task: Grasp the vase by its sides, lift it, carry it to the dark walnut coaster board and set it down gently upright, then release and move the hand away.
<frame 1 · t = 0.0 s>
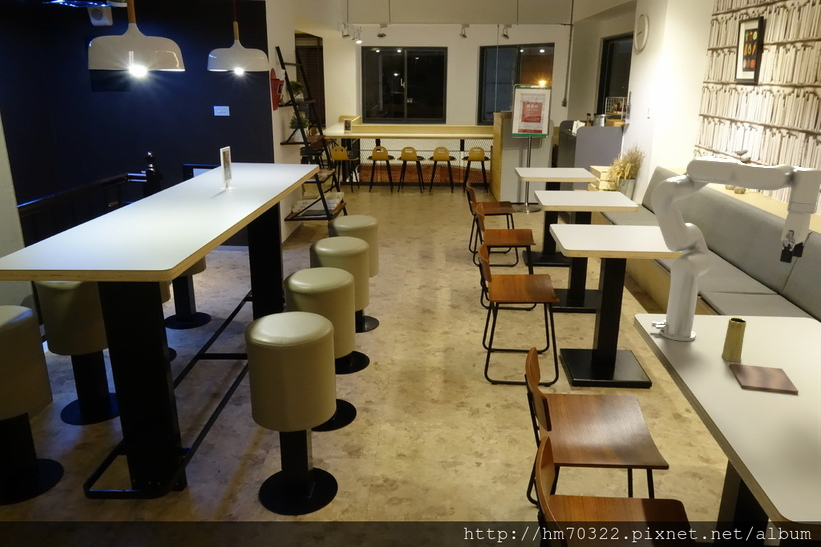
hand: (790, 259, 203), 37 cm above the table, tool pointing down, fingers open, 9 cm apart
coaster board: (762, 379, 203), on the table
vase: (730, 358, 219), on the table
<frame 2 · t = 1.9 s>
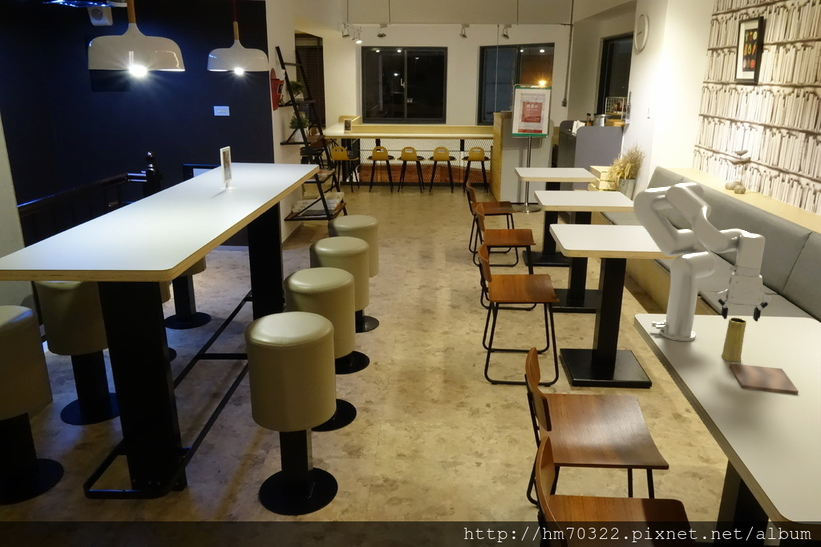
hand: (739, 318, 214), 15 cm above the table, tool pointing down, fingers open, 9 cm apart
nothing on the table moved.
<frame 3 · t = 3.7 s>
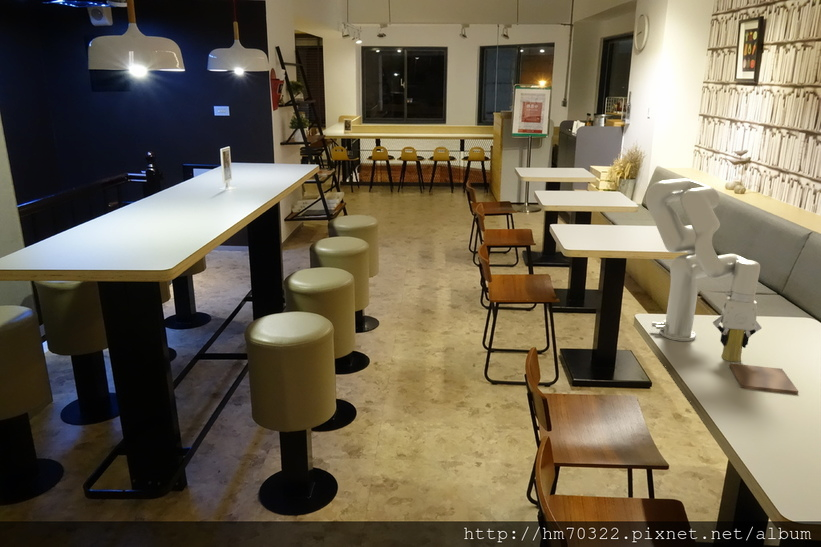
hand: (733, 344, 217), 5 cm above the table, tool pointing down, fingers closed on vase, 5 cm apart
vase: (730, 358, 219), on the table, touching gripper
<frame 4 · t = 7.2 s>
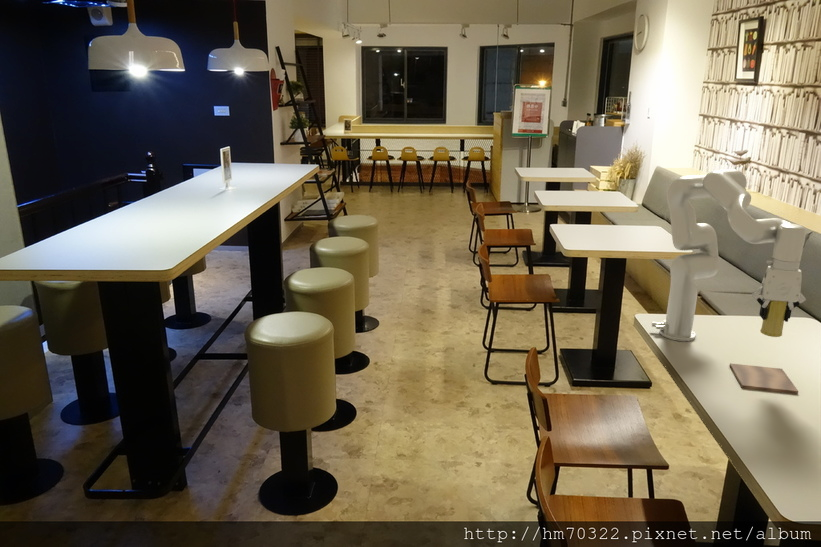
hand: (774, 318, 197), 21 cm above the table, tool pointing down, fingers closed on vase, 5 cm apart
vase: (770, 334, 199), point 16 cm above the table, touching gripper
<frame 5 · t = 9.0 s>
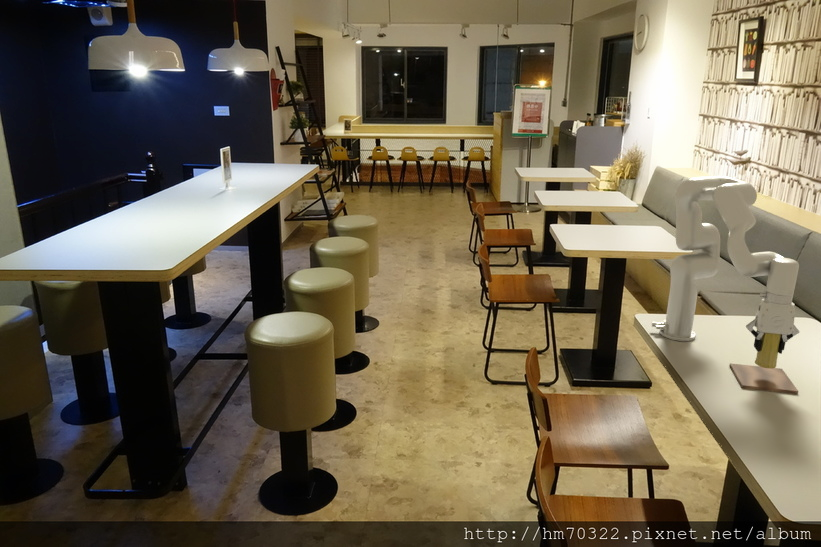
hand: (768, 350, 200), 10 cm above the table, tool pointing down, fingers closed on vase, 5 cm apart
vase: (765, 365, 202), point 5 cm above the table, touching gripper
when the fingers open (7 cm above the table, at t = 10.5 s): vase drops 1 cm, resting on coaster board.
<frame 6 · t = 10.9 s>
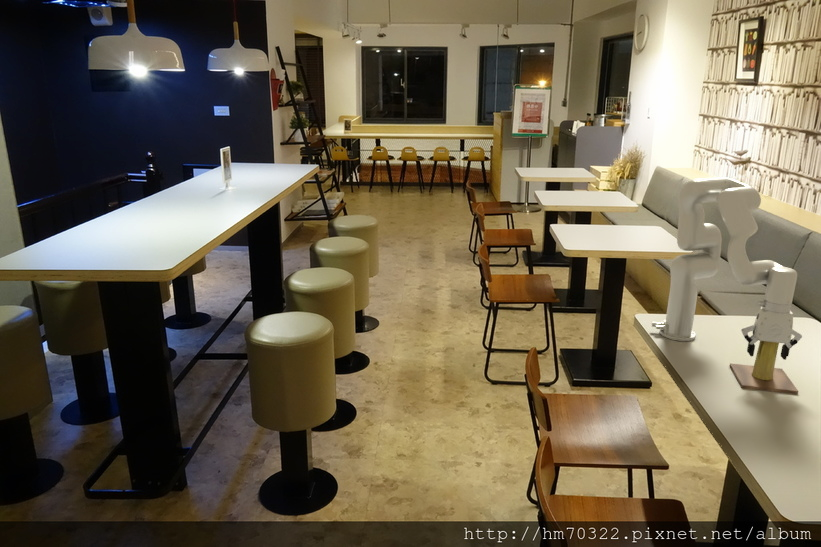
hand: (766, 356, 201), 8 cm above the table, tool pointing down, fingers open, 9 cm apart
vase: (762, 376, 203), point 1 cm above the table, touching coaster board
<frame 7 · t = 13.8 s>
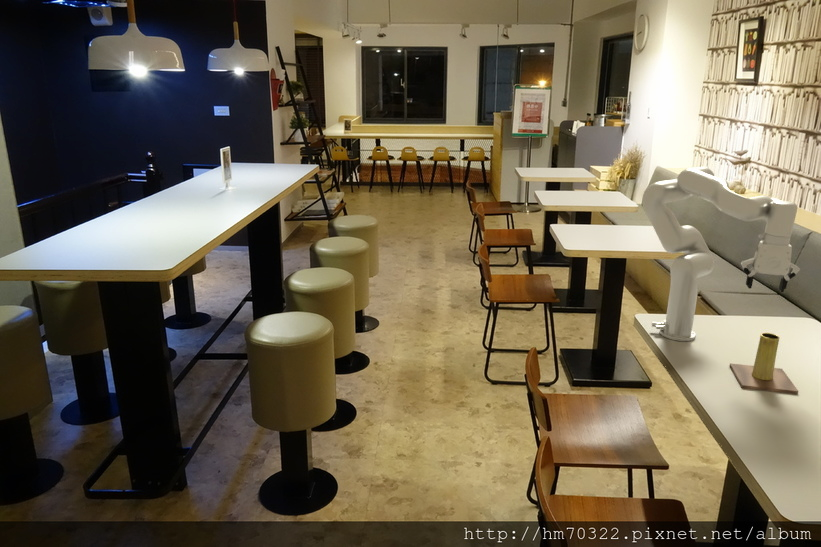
hand: (764, 288, 208), 27 cm above the table, tool pointing down, fingers open, 9 cm apart
nothing on the table moved.
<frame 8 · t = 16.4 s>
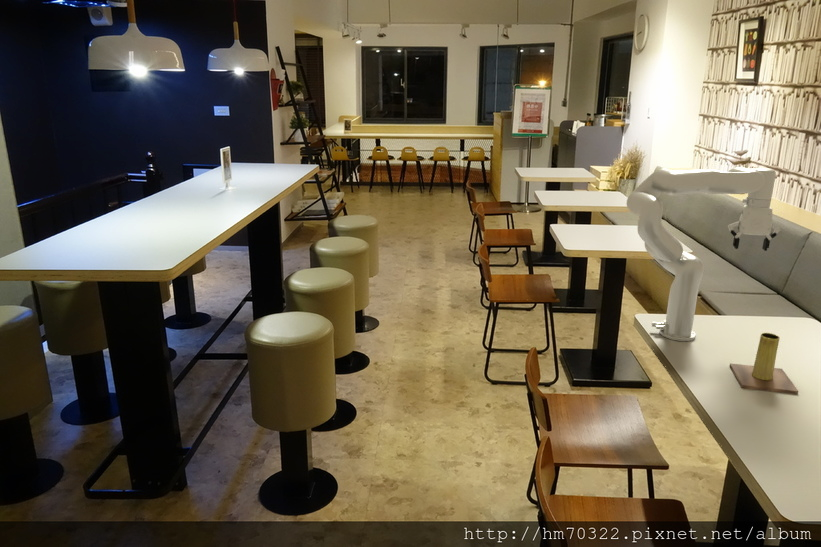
hand: (750, 248, 230), 33 cm above the table, tool pointing down, fingers open, 9 cm apart
nothing on the table moved.
at the end: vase inside the target area on the coaster board (0.2 cm from its centre), point 0.8 cm above the coaster board's base; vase tilted 0°; the gripper is holding nothing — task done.
